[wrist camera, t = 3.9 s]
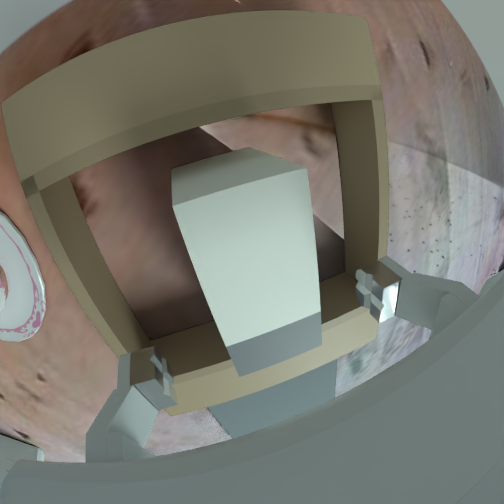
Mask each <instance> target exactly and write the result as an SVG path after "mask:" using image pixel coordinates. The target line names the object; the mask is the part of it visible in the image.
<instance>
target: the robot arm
mask: <svg viewBox="0 0 504 504" xmlns="http://www.w3.org/2000/svg"><path fill="white" fill-rule="evenodd" d="M356 279H357V280H358V283H357V285H356V287H355V290H356V296H357V299H358V301H359V302H360V304H361V305H362V306H363V307H365V308H368V309H370V314H371V315H372V316H373V317H374V318H375V319H376V320H377V321H378V322H379V323H381V322H382V321H384V320H386V319H388V318H390V317H392V316H394V315H395V316H397V317H400V318H402V319H405V320H408V321H410V322H413V323H415V324H418V325H421V326H423V327H426V328H428V329H431V333H430V336H429V340H428V341H427V342H426V343H424V344H423V345H422V346H420V347H419V348H417V349H416V350H415V351H413V352H412V353H410V354H409V355H407V356H406V357H404V358H403V359H401V360H400V361H398V362H397V363H395V364H394V365H392V366H391V367H389V368H387V369H386V370H384V371H383V372H381V373H379V374H378V375H376V376H374V377H373V378H371V379H369V380H367V381H366V382H364V383H362V384H360V385H359V386H357V387H355V388H353V389H351V390H349V391H348V392H346V393H344V394H342V395H340V396H338V397H336V398H334V399H332V400H330V401H328V402H326V403H324V404H322V405H319V406H317V407H315V408H313V409H311V410H309V411H306V412H304V413H302V414H299V415H297V416H295V417H292V418H290V419H287V420H285V421H282V422H280V423H277V424H275V425H272V426H269V427H267V428H264V429H261V430H258V431H255V432H252V433H249V434H246V435H243V436H240V437H237V438H233V439H230V440H227V441H223V442H220V443H216V444H212V445H208V446H204V447H200V448H196V449H192V450H187V451H182V452H177V453H172V454H167V455H161V456H155V455H154V454H152V453H151V452H149V451H147V450H146V449H144V448H145V445H146V443H147V440H148V437H149V435H150V432H151V430H152V427H153V424H154V422H155V419H156V417H157V414H158V412H159V411H158V410H161V409H165V408H169V407H172V406H176V405H178V401H177V395H176V390H175V389H174V388H173V387H172V385H173V383H174V382H175V381H174V375H173V372H172V369H171V367H170V365H169V363H168V361H167V360H166V359H164V358H162V357H161V351H160V350H159V349H158V347H157V346H152V347H149V348H145V349H141V350H138V351H134V352H131V353H127V354H123V355H120V357H119V363H118V380H117V389H115V390H114V391H113V392H112V394H111V395H110V397H109V398H108V400H107V401H106V403H105V405H104V406H103V408H102V409H101V411H100V412H99V414H98V416H97V417H96V419H95V420H94V422H93V424H92V425H91V427H90V429H89V430H88V432H87V433H86V463H65V462H45V461H34V460H25V459H21V460H18V461H17V462H16V463H15V464H14V465H13V467H12V468H11V469H10V471H9V472H8V474H7V476H6V477H5V479H4V480H3V482H2V485H1V489H0V504H504V269H503V270H502V271H500V272H499V273H497V274H496V275H494V276H493V277H491V278H489V279H488V280H487V281H486V282H485V284H484V286H483V288H482V290H481V291H480V293H479V295H477V294H476V293H475V292H473V291H472V290H471V289H469V288H468V287H467V286H466V285H464V284H463V283H462V282H458V281H453V280H448V279H443V278H438V277H433V276H428V275H423V274H418V273H413V274H411V273H410V272H409V271H407V270H406V269H405V268H403V267H402V266H401V265H399V264H398V263H396V262H395V261H394V260H392V259H391V258H390V257H387V256H385V257H383V258H381V259H379V260H377V261H375V262H373V263H371V264H368V265H366V266H364V267H362V268H360V269H358V270H357V271H356Z"/></svg>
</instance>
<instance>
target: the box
mask: <svg viewBox="0 0 504 504" xmlns="http://www.w3.org/2000/svg"><path fill="white" fill-rule="evenodd" d="M171 185H172V207H173V210H174V213H175V216H176V219H177V222H178V224H179V227H180V230H181V233H182V236H183V239H184V242H185V244H186V247H187V250H188V253H189V255H190V258H191V261H192V264H193V266H194V269H195V272H196V274H197V277H198V279H199V282H200V285H201V287H202V290H203V292H204V295H205V297H206V300H207V302H208V305H209V307H210V310H211V312H212V315H213V317H214V320H215V322H216V324H217V327H218V329H219V332H220V334H221V336H222V339H223V341H224V343H225V346H226V348H227V350H228V353H229V355H230V357H231V359H232V362H233V364H234V366H235V368H236V371H237V373H238V375H239V377H241V376H244V375H247V374H250V373H253V372H256V371H259V370H261V369H264V368H267V367H269V366H272V365H275V364H277V363H280V362H283V361H285V360H288V359H290V358H293V357H295V356H297V355H300V354H302V353H305V352H307V351H309V350H312V349H314V348H316V347H319V346H321V345H322V328H321V307H320V291H319V276H318V264H317V252H316V242H315V232H314V222H313V213H312V205H311V197H310V189H309V181H308V174H307V168H306V167H303V166H301V165H298V164H295V163H293V162H290V161H287V160H285V159H282V158H279V157H276V156H273V155H271V154H268V153H265V152H262V151H259V150H256V149H253V148H250V147H248V148H244V149H240V150H236V151H232V152H228V153H224V154H221V155H217V156H213V157H210V158H206V159H203V160H200V161H196V162H193V163H190V164H186V165H183V166H180V167H177V168H174V169H171Z"/></svg>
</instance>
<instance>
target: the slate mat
mask: <svg viewBox="0 0 504 504" xmlns="http://www.w3.org/2000/svg"><path fill="white" fill-rule="evenodd" d="M336 372H337V359H335V360H333V361H331V362H328V363H326V364H324V365H322V366H320V367H318V368H315V369H313V370H311V371H308V372H306V373H304V374H301V375H299V376H297V377H294V378H292V379H289V380H287V381H284V382H282V383H279V384H276V385H274V386H271V387H268V388H266V389H263V390H260V391H257V392H255V393H252V394H249V395H246V396H243V397H240V398H237V399H234V400H230V401H227V402H224V403H220V404H217V405H214V406H210V407H207V408H208V409H209V410H210V412H211V413H212V414H213V415H214V417H215V418H216V419H217V420H218V422H219V423H220V424H221V425H222V427H223V428H224V429H225V430H226V431H227V433H228V434H229V435H230V436H231V437H232V438H237V437H240V436H243V435H246V434H249V433H252V432H255V431H258V430H261V429H264V428H267V427H269V426H272V425H275V424H277V423H280V422H282V421H285V420H287V419H290V418H292V417H295V416H297V415H299V414H302V413H304V412H306V411H309V410H311V409H313V408H315V407H317V406H319V405H322V404H324V403H326V402H328V401H330V400H332V399H334V398H335V386H336Z"/></svg>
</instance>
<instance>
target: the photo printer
mask: <svg viewBox="0 0 504 504" xmlns="http://www.w3.org/2000/svg"><path fill="white" fill-rule="evenodd" d="M21 459H25V460H34V461H44V452H43V450H41V449H40V448H38V447H35V446H31V445H28V444H26V443H23V442H20V441H17V440H14V439H11V438H9V437H6V436H3V435H1V434H0V489H1V485H2V482H3V480H4V479H5V477H6V476H7V474H8V472H9V471H10V469H11V468H12V467H13V465H14V464H15V463H16V462H17V461H18V460H21Z"/></svg>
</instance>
